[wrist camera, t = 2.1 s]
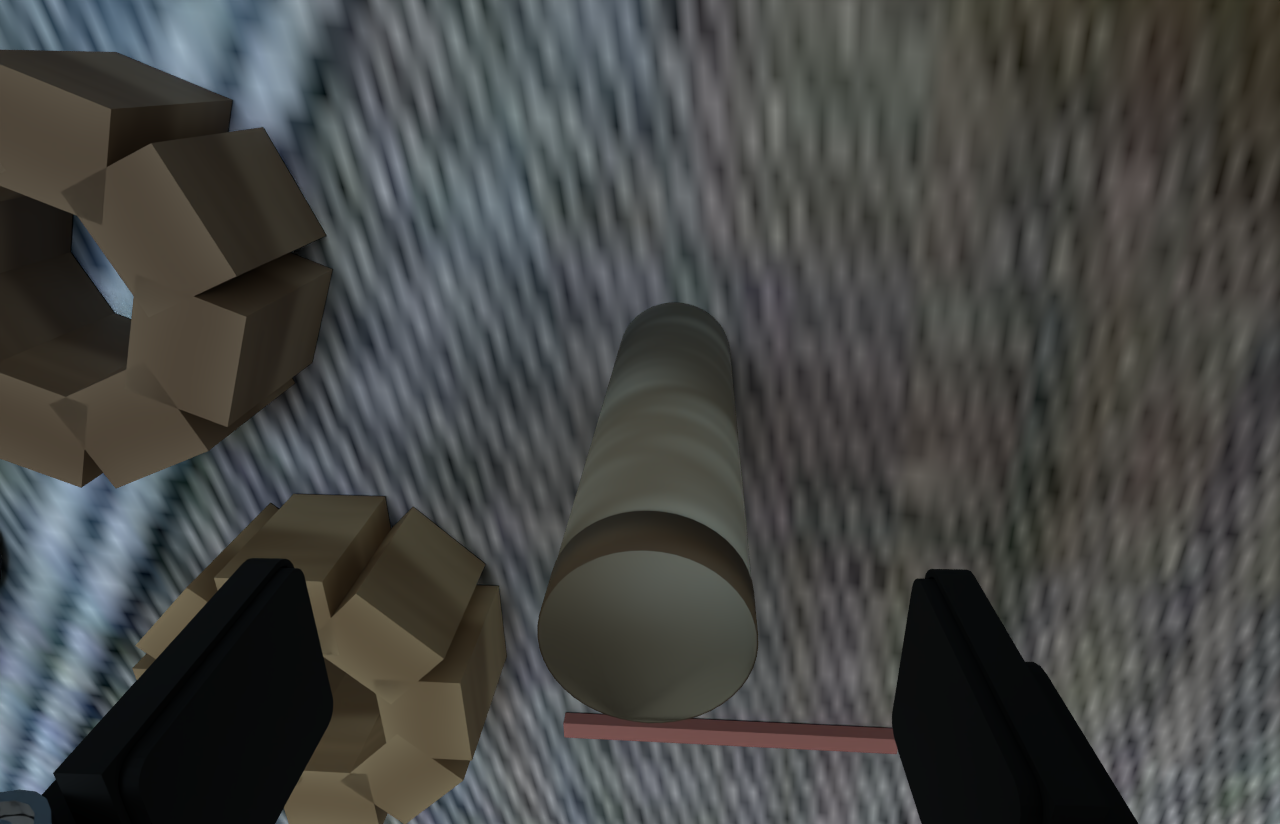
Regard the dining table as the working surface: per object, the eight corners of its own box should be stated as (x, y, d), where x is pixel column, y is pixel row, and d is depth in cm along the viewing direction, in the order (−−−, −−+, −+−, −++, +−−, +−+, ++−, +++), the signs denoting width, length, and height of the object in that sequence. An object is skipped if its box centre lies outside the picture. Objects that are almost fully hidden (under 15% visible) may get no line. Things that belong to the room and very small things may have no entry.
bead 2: (488, 499, 25) (445, 586, 20) (514, 727, 29) (483, 836, 25) (194, 491, 25) (96, 573, 21) (261, 714, 29) (190, 818, 25)
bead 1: (184, -8, 19) (41, -28, 15) (389, 343, 22) (319, 405, 18) (-94, 155, 21) (-284, 177, 17) (132, 451, 25) (20, 527, 21)
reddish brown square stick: (895, 728, 27) (898, 739, 27) (893, 742, 28) (896, 754, 27) (565, 712, 28) (563, 723, 28) (566, 726, 28) (564, 737, 28)
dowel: (732, 302, 21) (763, 553, 10) (729, 407, 23) (753, 727, 12) (617, 301, 21) (528, 546, 11) (620, 406, 23) (545, 718, 12)
